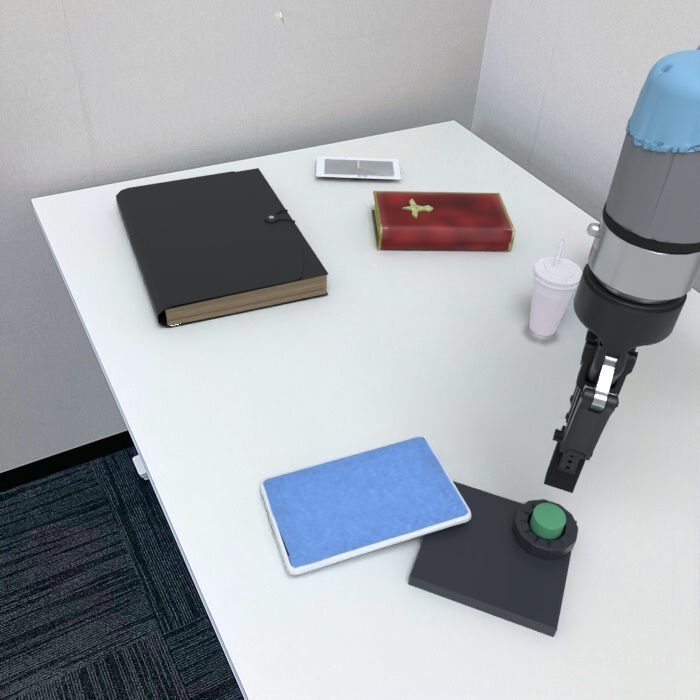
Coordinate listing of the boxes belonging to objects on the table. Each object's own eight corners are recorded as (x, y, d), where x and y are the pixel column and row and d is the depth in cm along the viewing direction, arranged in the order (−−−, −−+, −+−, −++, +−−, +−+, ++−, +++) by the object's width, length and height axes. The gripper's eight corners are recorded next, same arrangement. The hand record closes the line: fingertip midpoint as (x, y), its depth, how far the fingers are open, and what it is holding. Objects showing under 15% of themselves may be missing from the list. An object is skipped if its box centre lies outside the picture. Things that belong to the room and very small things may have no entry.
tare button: (564, 519, 75) (568, 508, 74) (559, 544, 73) (563, 533, 72) (532, 509, 76) (536, 498, 75) (526, 533, 74) (530, 522, 73)
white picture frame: (316, 161, 138) (316, 150, 136) (397, 164, 138) (398, 153, 137) (315, 181, 132) (316, 170, 130) (400, 185, 132) (401, 173, 131)
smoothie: (536, 307, 107) (559, 222, 98) (574, 329, 103) (602, 243, 94) (509, 326, 103) (531, 239, 94) (548, 349, 100) (574, 261, 91)
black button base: (574, 528, 78) (581, 511, 76) (554, 638, 68) (561, 621, 66) (444, 486, 81) (448, 468, 79) (407, 584, 72) (411, 567, 70)
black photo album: (330, 271, 104) (155, 307, 96) (329, 295, 106) (159, 332, 99) (259, 165, 127) (113, 188, 119) (260, 187, 129) (118, 210, 122)
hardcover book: (510, 253, 117) (516, 229, 115) (377, 251, 116) (379, 228, 113) (495, 213, 126) (499, 191, 124) (371, 211, 125) (373, 189, 122)
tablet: (289, 581, 71) (288, 573, 70) (257, 485, 80) (256, 477, 79) (474, 524, 75) (475, 515, 75) (424, 440, 85) (424, 431, 84)
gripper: (596, 222, 60) (532, 424, 76) (572, 311, 51) (505, 522, 66) (692, 245, 59) (607, 447, 74) (686, 341, 49) (590, 550, 65)
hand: (559, 482), depth 70 cm, fingers closed
